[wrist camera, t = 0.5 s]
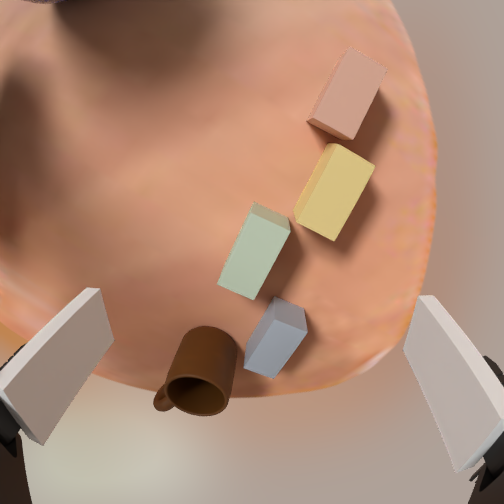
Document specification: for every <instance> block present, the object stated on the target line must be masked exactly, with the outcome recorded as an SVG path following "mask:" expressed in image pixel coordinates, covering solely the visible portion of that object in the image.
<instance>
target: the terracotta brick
mask: <svg viewBox="0 0 504 504" xmlns="http://www.w3.org/2000/svg"><path fill="white" fill-rule="evenodd" d="M387 70H388V69H387V68H386V67H384V66H383V65H381V64H379V63H378V62H376V61H375V60H373V59H371V58H370V57H368V56H366V55H364V54H363V53H361V52H359V51H357V50H356V49H354V48H352V47H350V46H349V47H348V48H347V50H346V51H345V52H344V53H343V54H342V55H341V57H340V58H339V59H338V61H337V63H336V64H335V66H334V68H333V70H332V72H331V74H330V76H329V78H328V80H327V82H326V84H325V86H324V88H323V90H322V91H321V93H320V95H319V97H318V99H317V101H316V103H315V105H314V107H313V109H312V111H311V113H310V115H309V117H308V119H307V122H309V123H311V124H313V125H314V126H316V127H318V128H320V129H322V130H324V131H326V132H328V133H329V134H331V135H333V136H335V137H337V138H338V139H340V140H353V139H354V137H355V135H356V133H357V131H358V129H359V127H360V125H361V123H362V121H363V119H364V117H365V115H366V113H367V111H368V109H369V107H370V105H371V103H372V101H373V99H374V97H375V95H376V93H377V91H378V89H379V87H380V84H381V82H382V80H383V78H384V76H385V74H386V72H387Z"/></svg>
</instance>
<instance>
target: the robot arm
mask: <svg viewBox="0 0 504 504" xmlns="http://www.w3.org/2000/svg"><path fill="white" fill-rule="evenodd" d="M114 341H115V340H114V337H113V334H112V330H111V327H110V323H109V320H108V316H107V313H106V309H105V305H104V301H103V298H102V294H101V289H100V288H89V287H87V288H86V289H84V290H83V291H82V292H81V293H80V294H79V295H78V296H77V297H75V298H74V299H73V300H72V301H71V302H70V303H69V304H68V305H67V306H66V307H64V308H63V309H62V310H61V311H60V312H59V313H58V314H57V315H56V316H55V317H54V318H53V319H52V320H51V321H50V322H48V323H47V324H46V325H45V326H44V327H43V328H42V329H41V330H40V331H39V332H38V333H37V334H36V335H35V336H34V337H33V338H32V339H31V340H30V341H29V342H28V343H26V344H24V345H23V346H21V347H20V348H19V349H18V350H17V351H16V352H15V353H14V356H11V357H10V358H9V359H8V362H6V363H5V364H4V365H3V366H2V367H1V368H0V504H32V501H31V496H30V492H29V487H28V482H27V476H26V470H25V463H24V456H23V448H22V440H21V436H20V435H19V434H18V431H19V430H20V429H22V430H23V431H24V433H25V434H26V435H27V436H28V438H29V439H31V440H33V441H35V442H37V443H39V444H40V445H44V444H45V442H46V440H47V439H48V437H49V436H50V434H51V433H52V431H53V430H54V428H55V426H56V425H57V423H58V422H59V420H60V418H61V417H62V416H63V414H64V412H65V411H66V409H67V408H68V406H69V405H70V403H71V402H72V400H73V399H74V397H75V396H76V394H77V393H78V391H79V390H80V389H81V387H82V386H83V384H84V383H85V381H86V380H87V378H88V377H89V375H90V374H91V373H92V371H93V370H94V368H95V367H96V366H97V364H98V363H99V361H100V360H101V359H102V357H103V356H104V354H105V353H106V352H107V350H108V349H109V347H110V346H111V345H112V343H113V342H114ZM403 352H404V354H405V356H406V358H407V360H408V362H409V364H410V366H411V368H412V370H413V372H414V374H415V377H416V379H417V381H418V383H419V385H420V387H421V389H422V391H423V394H424V396H425V398H426V401H427V403H428V405H429V407H430V410H431V412H432V414H433V417H434V419H435V421H436V424H437V426H438V429H439V431H440V434H441V436H442V439H443V441H444V444H445V446H446V449H447V452H448V454H449V457H450V460H451V462H452V465H453V468H454V471H455V473H457V472H460V471H463V470H466V469H468V468H471V467H473V466H474V465H475V464H476V463H477V462H478V461H479V460H480V459H481V458H482V457H484V460H485V463H484V464H483V466H481V467H480V468H479V469H478V470H477V471H476V472H475V473H474V474H473V475H472V477H471V479H470V480H469V481H473V480H474V479H475V478H476V477H477V476H478V475H479V476H478V478H477V481H476V482H475V483H476V484H475V487H474V489H473V492H472V495H471V497H470V500H469V502H468V504H504V375H503V373H502V371H501V370H500V368H499V367H498V366H497V364H496V363H495V362H493V361H492V360H491V359H489V358H488V357H487V356H481V354H480V353H479V351H478V350H477V349H476V348H475V346H474V345H473V344H472V342H471V341H470V340H469V338H468V337H467V336H466V334H465V333H464V332H463V331H462V329H461V328H460V327H459V326H458V324H457V323H456V322H455V321H454V319H453V318H452V317H451V316H450V314H449V313H448V312H447V311H446V310H445V309H444V307H443V306H442V305H441V304H440V302H439V301H438V300H437V299H436V298H435V297H434V296H433V295H427V296H418V298H417V302H416V306H415V310H414V313H413V317H412V321H411V324H410V328H409V331H408V335H407V338H406V341H405V344H404V347H403Z"/></svg>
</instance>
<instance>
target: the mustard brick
mask: <svg viewBox="0 0 504 504" xmlns="http://www.w3.org/2000/svg"><path fill="white" fill-rule="evenodd" d="M375 167H376V166H375V165H373V164H371V163H370V162H368V161H366V160H365V159H363V158H362V157H360V156H358V155H357V154H355V153H353V152H351V151H350V150H348V149H346V148H345V147H343V146H341V145H339V144H333V143H328V144H327V146H326V148H325V149H324V151H323V153H322V155H321V157H320V159H319V161H318V163H317V165H316V167H315V169H314V171H313V173H312V175H311V177H310V178H309V180H308V182H307V184H306V186H305V188H304V190H303V192H302V194H301V196H300V198H299V199H298V201H297V203H296V205H295V207H294V209H293V212H294V216H295V219H296V222H297V223H299V224H301V225H303V226H305V227H307V228H309V229H311V230H313V231H315V232H317V233H319V234H320V235H322V236H324V237H326V238H328V239H330V240H332V241H335V239H336V238H337V236H338V234H339V232H340V231H341V229H342V227H343V225H344V224H345V222H346V220H347V218H348V217H349V215H350V213H351V211H352V209H353V208H354V206H355V204H356V202H357V200H358V198H359V197H360V195H361V193H362V191H363V189H364V187H365V186H366V184H367V182H368V180H369V178H370V176H371V174H372V172H373V170H374V168H375Z"/></svg>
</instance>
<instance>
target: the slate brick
mask: <svg viewBox="0 0 504 504" xmlns="http://www.w3.org/2000/svg"><path fill="white" fill-rule="evenodd" d="M307 333H308V331H307V324H306V318H305V312H304V308H302V307H299V306H297V305H294V304H292V303H290V302H287V301H285V300H283V299H280V298H278V297H276V296H274V298H273V299H272V301H271V303H270V304H269V306H268V308H267V310H266V311H265V313H264V315H263V316H262V318H261V320H260V322H259V323H258V325H257V327H256V328H255V330H254V332H253V333H252V335H251V337H250V338H249V340H248V342H247V344H246V352H245V360H244V369H247V370H250V371H253V372H255V373H258V374H261V375H264V376H267V377H270V378H273V379H274V378H275V377H276V375H277V374H278V373H279V371H280V370H281V369H282V367H283V366H284V365H285V363H286V362H287V361H288V359H289V358H290V356H291V355H292V354H293V352H294V351H295V350H296V348H297V347H298V345H299V344H300V343H301V341H302V340H303V338H304V337H305V336H306V334H307Z"/></svg>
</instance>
